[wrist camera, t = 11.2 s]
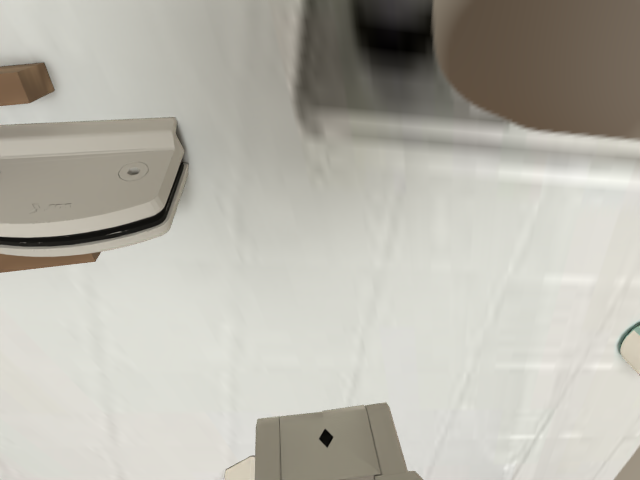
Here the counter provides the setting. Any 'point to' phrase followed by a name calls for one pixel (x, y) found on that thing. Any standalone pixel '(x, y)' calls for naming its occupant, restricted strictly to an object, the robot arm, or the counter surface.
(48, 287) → the counter surface
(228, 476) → the jar
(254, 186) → the counter surface
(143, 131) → the white curved block
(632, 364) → the can
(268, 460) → the robot arm
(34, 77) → the frame
